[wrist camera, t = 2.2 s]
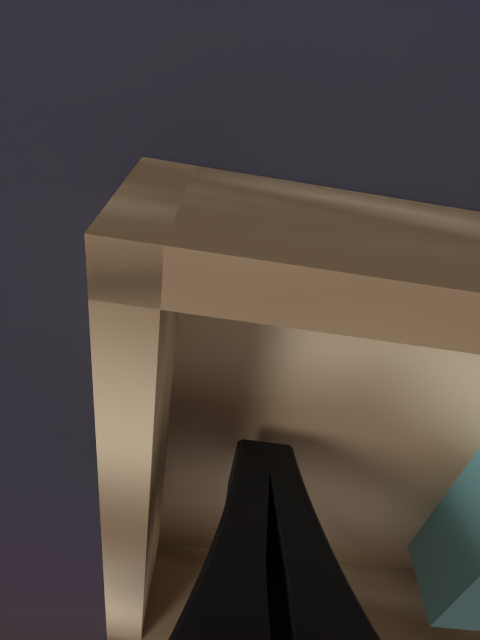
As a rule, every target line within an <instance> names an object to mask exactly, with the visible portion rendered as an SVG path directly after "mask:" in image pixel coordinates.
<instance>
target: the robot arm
mask: <svg viewBox="0 0 480 640" xmlns="http://www.w3.org/2000/svg"><path fill="white" fill-rule="evenodd" d="M168 640H381V639H380V638H379V636H378V634H377V632H376V631H375V629H374V627H373V626H372V624H371V622H370V621H369V619H368V617H367V615H366V614H365V612H364V610H363V608H362V607H361V605H360V603H359V601H358V600H357V598H356V596H355V594H354V592H353V590H352V588H351V587H350V585H349V583H348V581H347V579H346V577H345V575H344V573H343V571H342V569H341V567H340V565H339V563H338V561H337V559H336V557H335V555H334V553H333V551H332V548H331V546H330V544H329V542H328V540H327V538H326V535H325V533H324V531H323V529H322V526H321V524H320V522H319V519H318V517H317V515H316V512H315V510H314V508H313V505H312V503H311V500H310V498H309V495H308V492H307V490H306V487H305V484H304V482H303V479H302V476H301V473H300V470H299V467H298V464H297V461H296V458H295V455H294V451H293V448H292V447H291V446H290V445H287V444H279V443H271V442H262V441H254V440H246V439H242V440H240V441H238V442H237V446H236V450H235V455H234V459H233V463H232V468H231V472H230V476H229V481H228V487H227V496H226V502H225V507H224V510H223V513H222V516H221V519H220V522H219V525H218V528H217V530H216V533H215V535H214V538H213V541H212V543H211V546H210V549H209V551H208V554H207V556H206V559H205V561H204V564H203V566H202V568H201V571H200V573H199V575H198V578H197V580H196V582H195V584H194V587H193V589H192V591H191V593H190V596H189V598H188V600H187V602H186V604H185V606H184V608H183V610H182V612H181V615H180V617H179V619H178V621H177V623H176V625H175V627H174V629H173V631H172V633H171V635H170V637H169V639H168Z"/></svg>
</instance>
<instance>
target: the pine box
mask: <svg viewBox="0 0 480 640" xmlns="http://www.w3.org/2000/svg"><path fill="white" fill-rule="evenodd" d="M85 251H86V268H87V286H88V304H89V322H90V340H91V358H92V375H93V393H94V411H95V429H96V447H97V464H98V482H99V500H100V518H101V536H102V554H103V571H104V589H105V607H106V625H107V640H168V639H169V637H170V635H171V633H172V631H173V629H174V627H175V625H176V623H177V621H178V619H179V617H180V615H181V612H182V610H183V608H184V606H185V604H186V602H187V600H188V598H189V596H190V593H191V591H192V589H193V587H194V584H195V582H196V580H197V578H198V575H199V573H200V571H201V568H202V566H203V564H204V561H205V559H206V556H207V554H208V551H209V549H210V546H211V543H212V541H213V538H214V535H215V533H216V530H217V528H218V525H219V522H220V519H221V516H222V513H223V510H224V507H225V502H226V496H227V487H228V481H229V476H230V472H231V468H232V463H233V459H234V455H235V450H236V446H237V442H238V441H240V440H242V439H246V440H254V441H262V442H271V443H279V444H287V445H290V446H291V447H292V448H293V451H294V455H295V458H296V461H297V464H298V467H299V470H300V473H301V476H302V479H303V482H304V484H305V487H306V490H307V492H308V495H309V498H310V500H311V503H312V505H313V508H314V510H315V512H316V515H317V517H318V519H319V522H320V524H321V526H322V529H323V531H324V533H325V535H326V538H327V540H328V542H329V544H330V546H331V548H332V551H333V553H334V555H335V557H336V559H337V561H338V563H339V565H340V567H341V569H342V571H343V573H344V575H345V577H346V579H347V581H348V583H349V585H350V587H351V588H352V590H353V592H354V594H355V596H356V598H357V600H358V601H359V603H360V605H361V607H362V608H363V610H364V612H365V614H366V615H367V617H368V619H369V621H370V622H371V624H372V626H373V627H374V629H375V631H376V632H377V634H378V636H379V638H380V639H381V640H480V631H473V630H462V629H452V628H441V627H431V626H430V624H429V621H428V617H427V614H426V610H425V607H424V603H423V600H422V596H421V593H420V589H419V586H418V582H417V579H416V575H415V572H414V568H413V565H412V561H411V558H410V554H409V551H408V547H407V546H408V545H409V544H410V542H411V541H412V539H413V538H414V537H415V535H416V534H417V533H418V531H419V530H420V528H421V527H422V526H423V524H424V523H425V522H426V520H427V519H428V517H429V516H430V515H431V513H432V512H433V511H434V509H435V508H436V507H437V505H438V504H439V502H440V501H441V500H442V498H443V497H444V496H445V494H446V493H447V491H448V490H449V489H450V487H451V486H452V485H453V483H454V482H455V481H456V479H457V478H458V476H459V475H460V474H461V472H462V471H463V470H464V468H465V467H466V465H467V464H468V463H469V461H470V460H471V459H472V457H473V456H474V454H475V453H476V452H477V450H478V449H479V448H480V212H478V211H472V210H465V209H459V208H453V207H447V206H441V205H435V204H429V203H422V202H416V201H410V200H404V199H398V198H392V197H386V196H380V195H373V194H367V193H361V192H355V191H349V190H343V189H337V188H330V187H324V186H318V185H312V184H306V183H300V182H294V181H288V180H281V179H275V178H269V177H263V176H257V175H251V174H245V173H238V172H232V171H226V170H220V169H214V168H208V167H202V166H196V165H189V164H183V163H177V162H171V161H165V160H159V159H153V158H146V157H142V158H141V159H140V160H139V162H138V163H137V164H136V166H135V167H134V168H133V170H132V171H131V172H130V174H129V175H128V176H127V178H126V179H125V180H124V182H123V183H122V184H121V186H120V187H119V188H118V190H117V191H116V192H115V194H114V195H113V196H112V198H111V199H110V200H109V202H108V203H107V204H106V206H105V207H104V208H103V210H102V211H101V212H100V214H99V215H98V216H97V218H96V219H95V220H94V222H93V223H92V224H91V226H90V227H89V228H88V230H87V231H86V232H85Z"/></svg>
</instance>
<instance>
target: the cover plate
mask: <svg viewBox="0 0 480 640" xmlns="http://www.w3.org/2000/svg"><path fill="white" fill-rule="evenodd" d="M407 547H408V551H409V554H410V558H411V561H412V565H413V568H414V572H415V575H416V579H417V582H418V586H419V589H420V593H421V596H422V600H423V603H424V607H425V610H426V614H427V617H428V621H429V624H430V626H431V627H441V628H452V629H462V630H473V631H480V448H479V449H478V450H477V452H476V453H475V454H474V456H473V457H472V459H471V460H470V461H469V463H468V464H467V465H466V467H465V468H464V470H463V471H462V472H461V474H460V475H459V476H458V478H457V479H456V481H455V482H454V483H453V485H452V486H451V487H450V489H449V490H448V491H447V493H446V494H445V496H444V497H443V498H442V500H441V501H440V502H439V504H438V505H437V507H436V508H435V509H434V511H433V512H432V513H431V515H430V516H429V517H428V519H427V520H426V522H425V523H424V524H423V526H422V527H421V528H420V530H419V531H418V533H417V534H416V535H415V537H414V538H413V539H412V541H411V542H410V544H409V545H408V546H407Z"/></svg>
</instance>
